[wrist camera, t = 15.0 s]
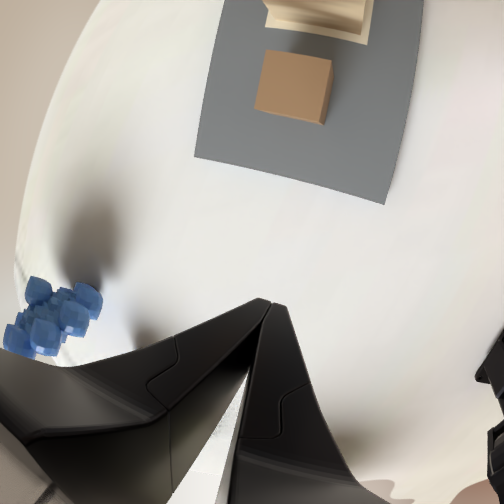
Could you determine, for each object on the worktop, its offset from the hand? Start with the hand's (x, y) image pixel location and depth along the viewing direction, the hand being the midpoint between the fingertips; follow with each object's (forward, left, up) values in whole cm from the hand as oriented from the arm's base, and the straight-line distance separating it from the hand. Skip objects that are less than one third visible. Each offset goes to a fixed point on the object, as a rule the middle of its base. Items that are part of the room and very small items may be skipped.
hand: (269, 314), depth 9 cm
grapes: (+19, +12, -12) cm, 26 cm away
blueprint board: (+2, -14, -12) cm, 19 cm away
